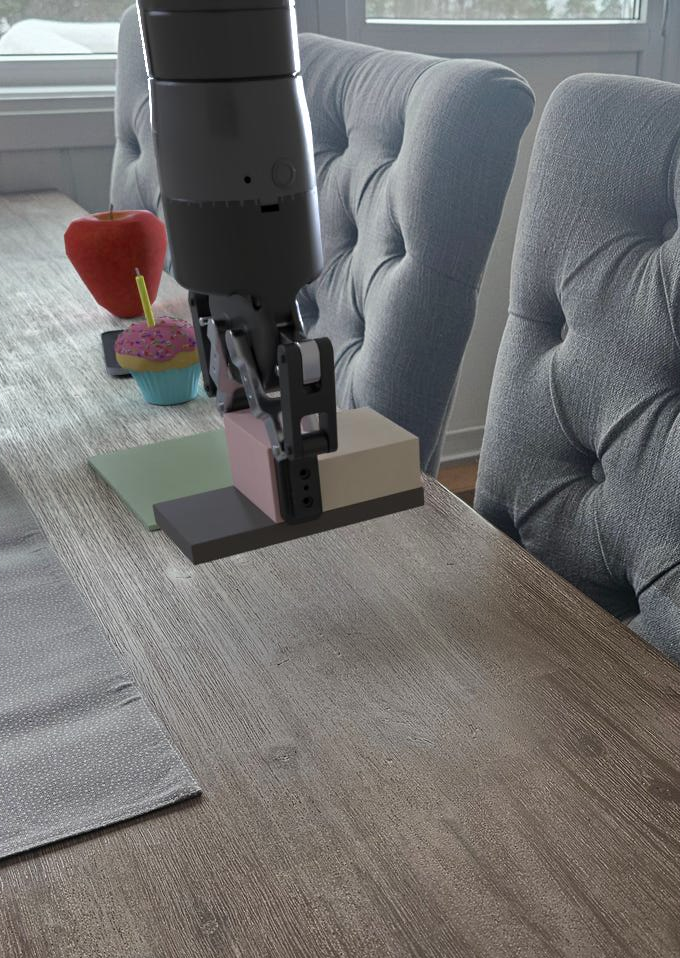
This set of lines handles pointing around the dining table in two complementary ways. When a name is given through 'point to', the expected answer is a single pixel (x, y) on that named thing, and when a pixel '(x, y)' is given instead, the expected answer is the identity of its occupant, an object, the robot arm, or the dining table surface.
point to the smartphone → (111, 352)
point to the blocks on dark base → (256, 496)
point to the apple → (118, 257)
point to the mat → (166, 471)
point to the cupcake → (160, 355)
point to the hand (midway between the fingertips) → (276, 497)
